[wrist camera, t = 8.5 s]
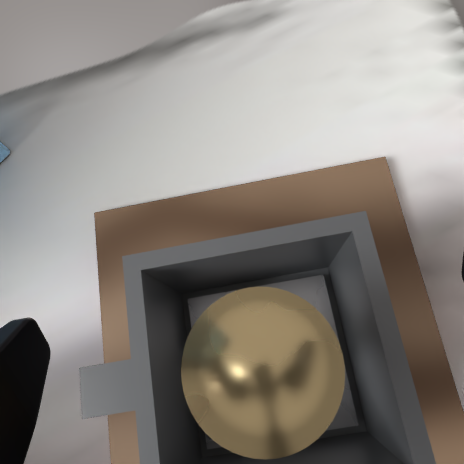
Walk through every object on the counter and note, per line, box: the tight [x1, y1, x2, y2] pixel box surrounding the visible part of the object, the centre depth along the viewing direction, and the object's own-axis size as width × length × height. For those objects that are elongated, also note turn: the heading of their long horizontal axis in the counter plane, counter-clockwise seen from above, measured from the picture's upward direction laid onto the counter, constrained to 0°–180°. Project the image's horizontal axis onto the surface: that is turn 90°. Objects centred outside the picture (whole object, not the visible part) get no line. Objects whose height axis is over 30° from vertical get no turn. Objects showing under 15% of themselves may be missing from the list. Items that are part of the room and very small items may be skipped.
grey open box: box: [79, 211, 436, 464], centre depth 16 cm, size 8×10×7 cm
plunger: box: [181, 275, 359, 459], centre depth 13 cm, size 6×6×10 cm
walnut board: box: [94, 157, 464, 464], centre depth 19 cm, size 20×16×1 cm
